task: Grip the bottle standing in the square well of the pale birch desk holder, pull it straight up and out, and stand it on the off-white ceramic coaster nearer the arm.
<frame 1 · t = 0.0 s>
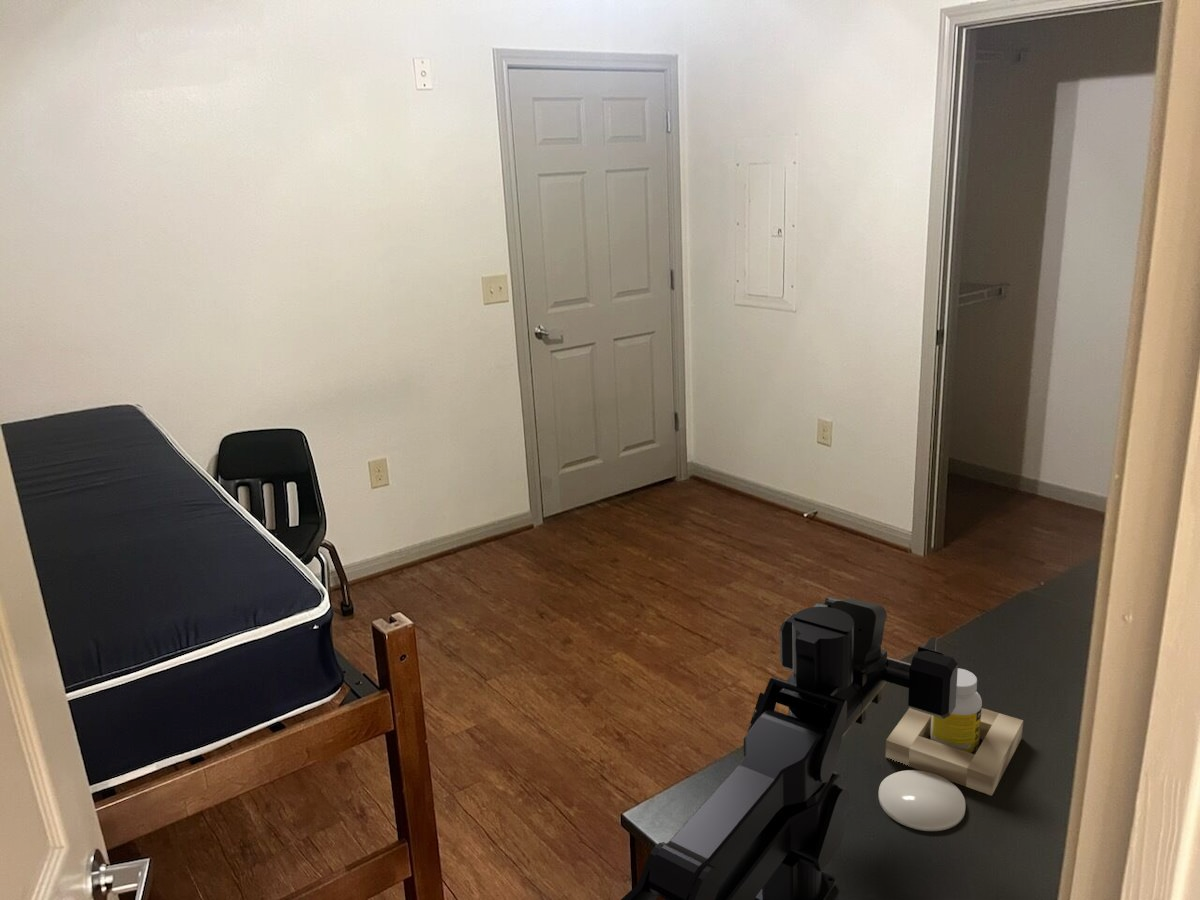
hand: (893, 629, 102), 17 cm above the table, tool horizontal, fingers open, 9 cm apart
ceramic coaster: (921, 801, 99), on the table
supplement bottle: (954, 749, 107), resting in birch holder
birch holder: (954, 747, 107), on the table
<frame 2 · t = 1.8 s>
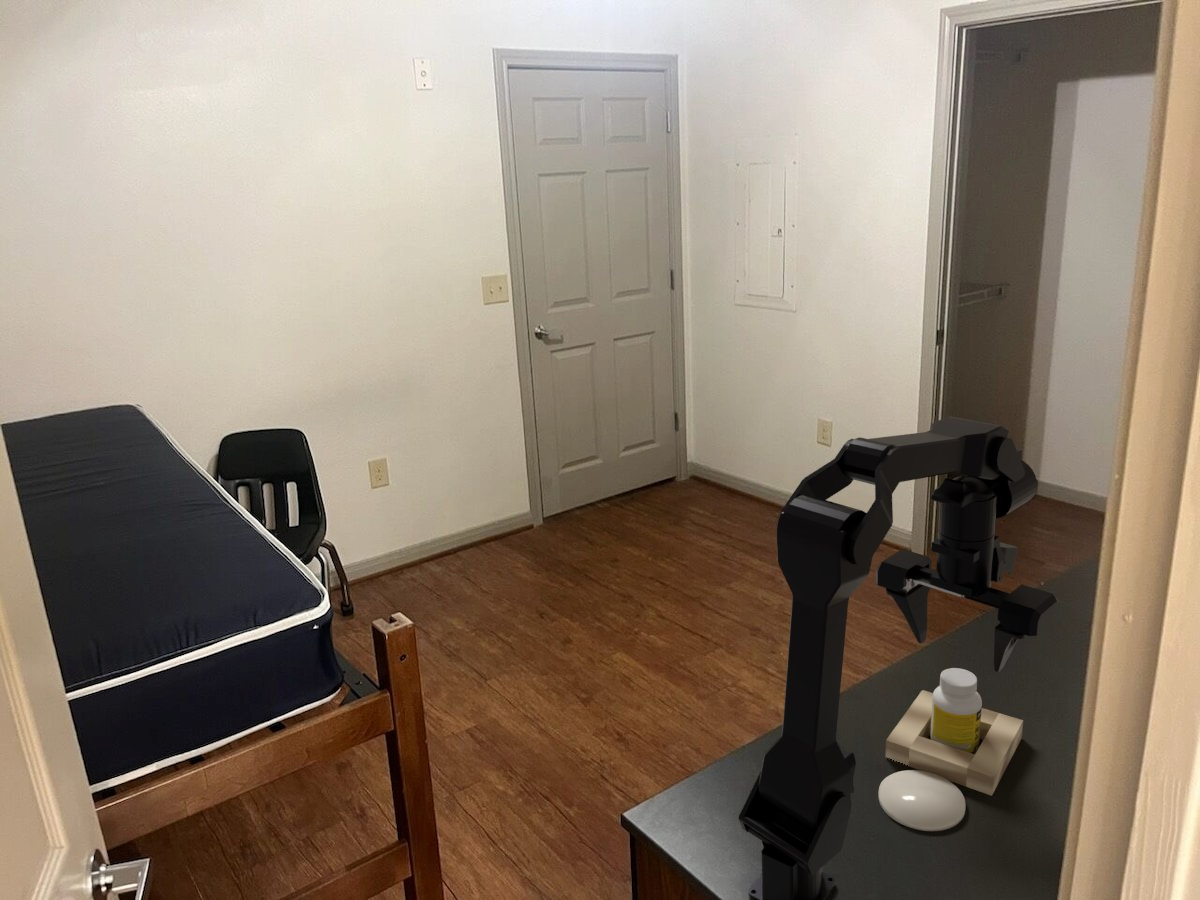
hand: (959, 655, 103), 13 cm above the table, tool pointing down, fingers open, 9 cm apart
nothing on the table moved.
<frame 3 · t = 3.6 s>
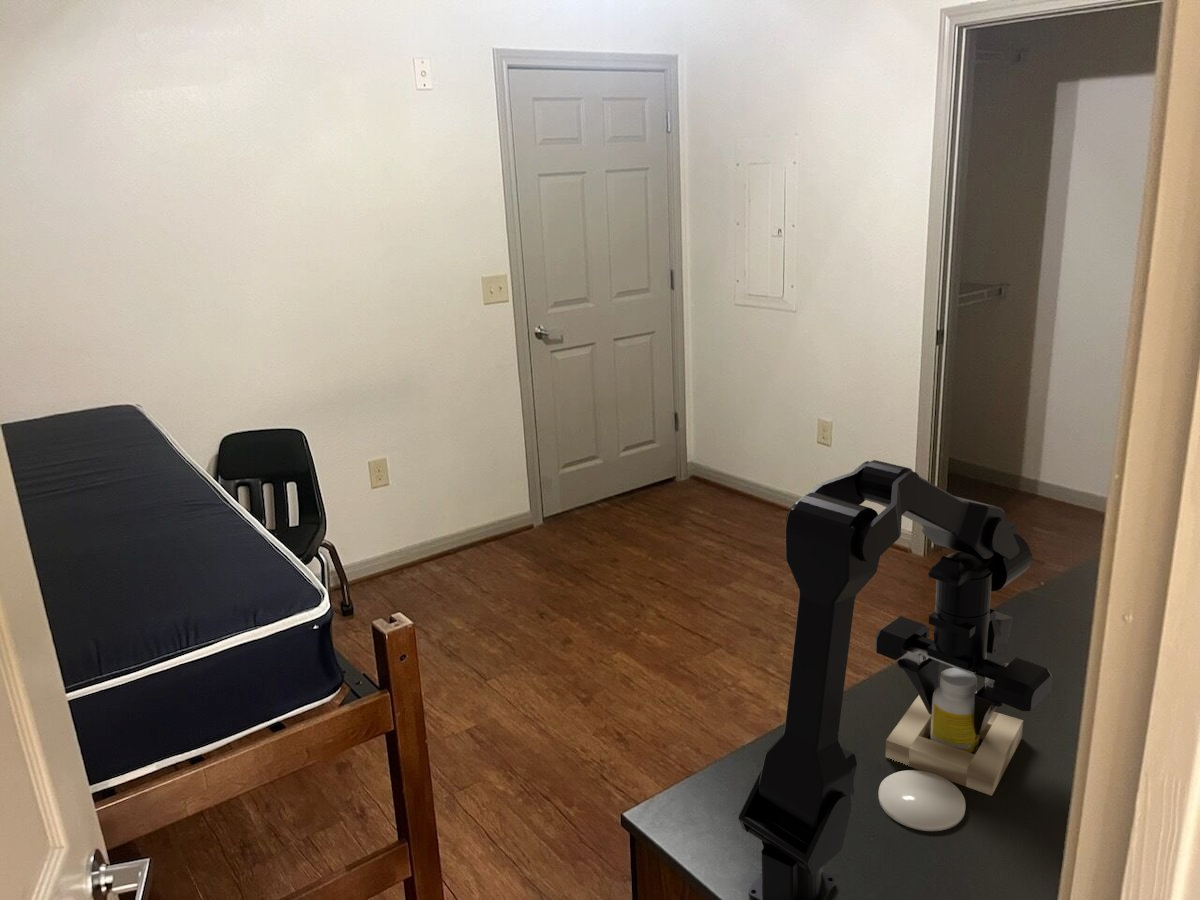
hand: (955, 722, 106), 4 cm above the table, tool pointing down, fingers closed on supplement bottle, 5 cm apart
supplement bottle: (954, 749, 107), resting in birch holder, touching gripper
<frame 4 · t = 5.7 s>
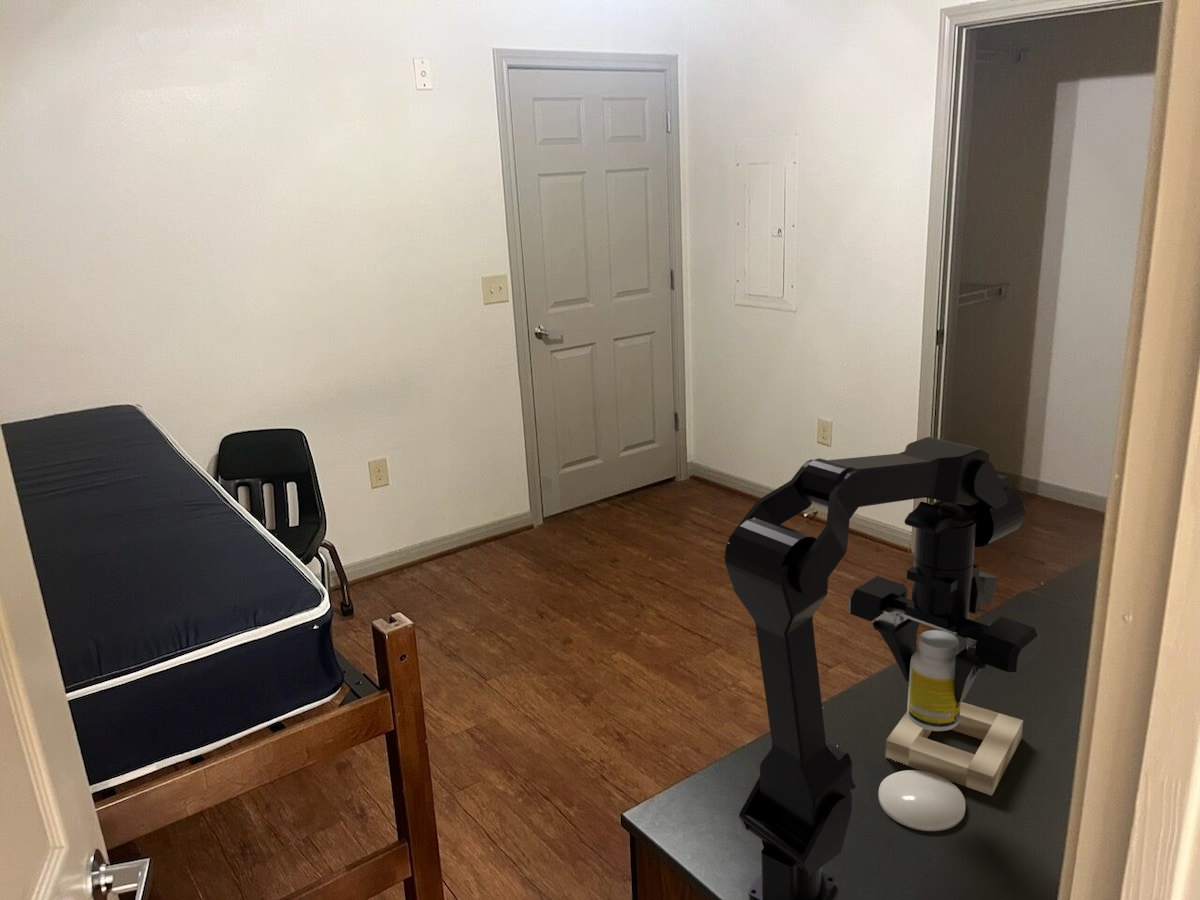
hand: (934, 690, 97), 12 cm above the table, tool pointing down, fingers closed on supplement bottle, 5 cm apart
supplement bottle: (932, 719, 99), point 9 cm above the table, touching gripper
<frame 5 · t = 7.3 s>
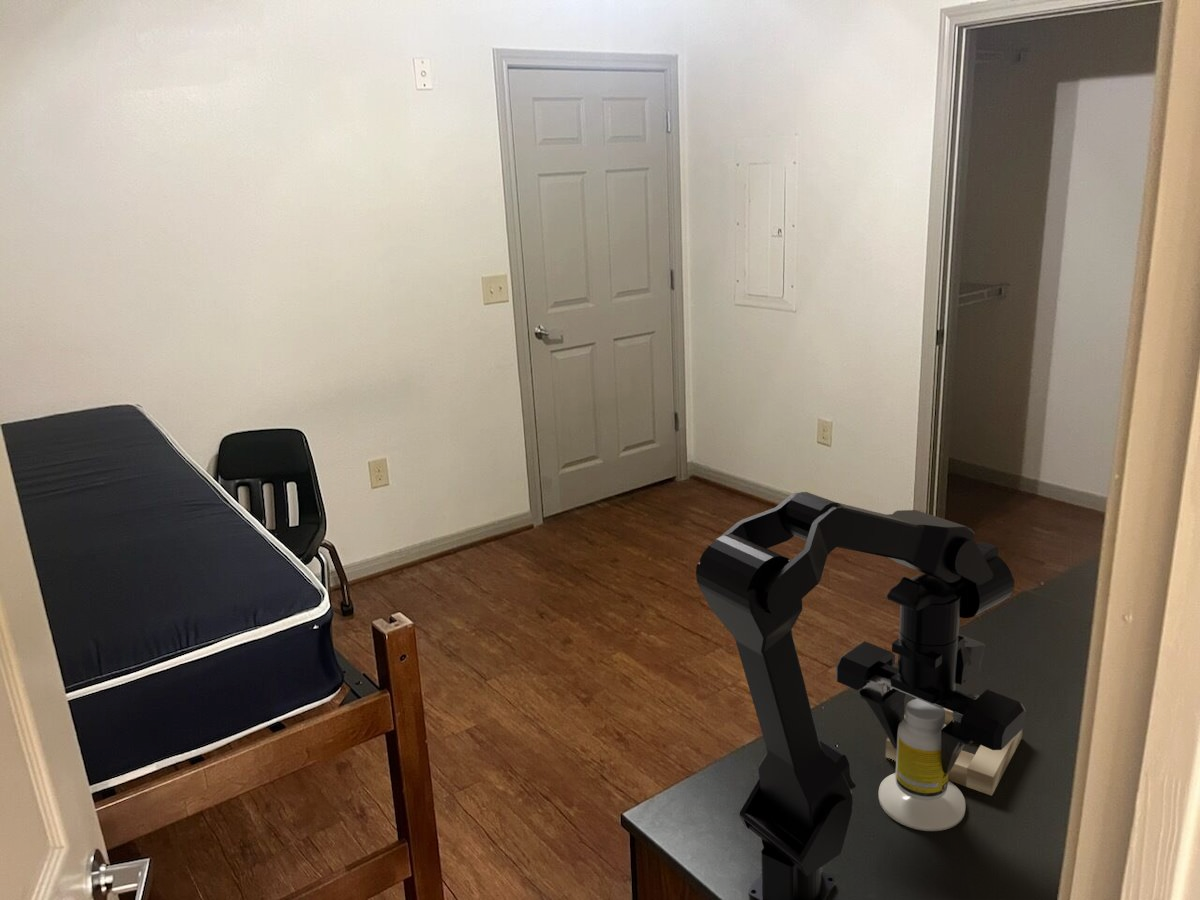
hand: (922, 758, 97), 6 cm above the table, tool pointing down, fingers closed on supplement bottle, 5 cm apart
supplement bottle: (921, 787, 98), point 2 cm above the table, touching gripper
when the fingers open (5 cm above the table, at t = 8.2 s): supplement bottle drops 1 cm, resting on ceramic coaster.
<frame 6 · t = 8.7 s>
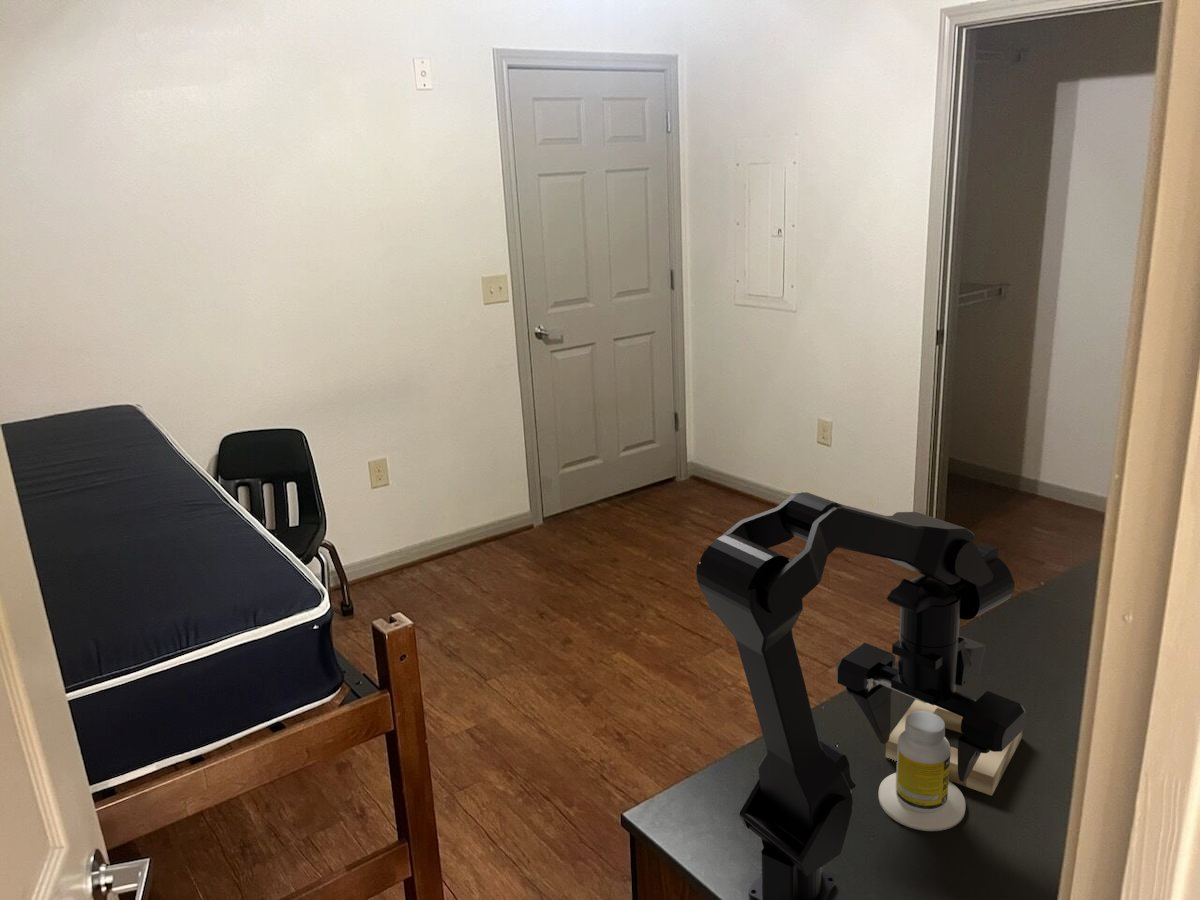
hand: (922, 760, 97), 5 cm above the table, tool pointing down, fingers open, 9 cm apart
supplement bottle: (921, 799, 99), resting on ceramic coaster
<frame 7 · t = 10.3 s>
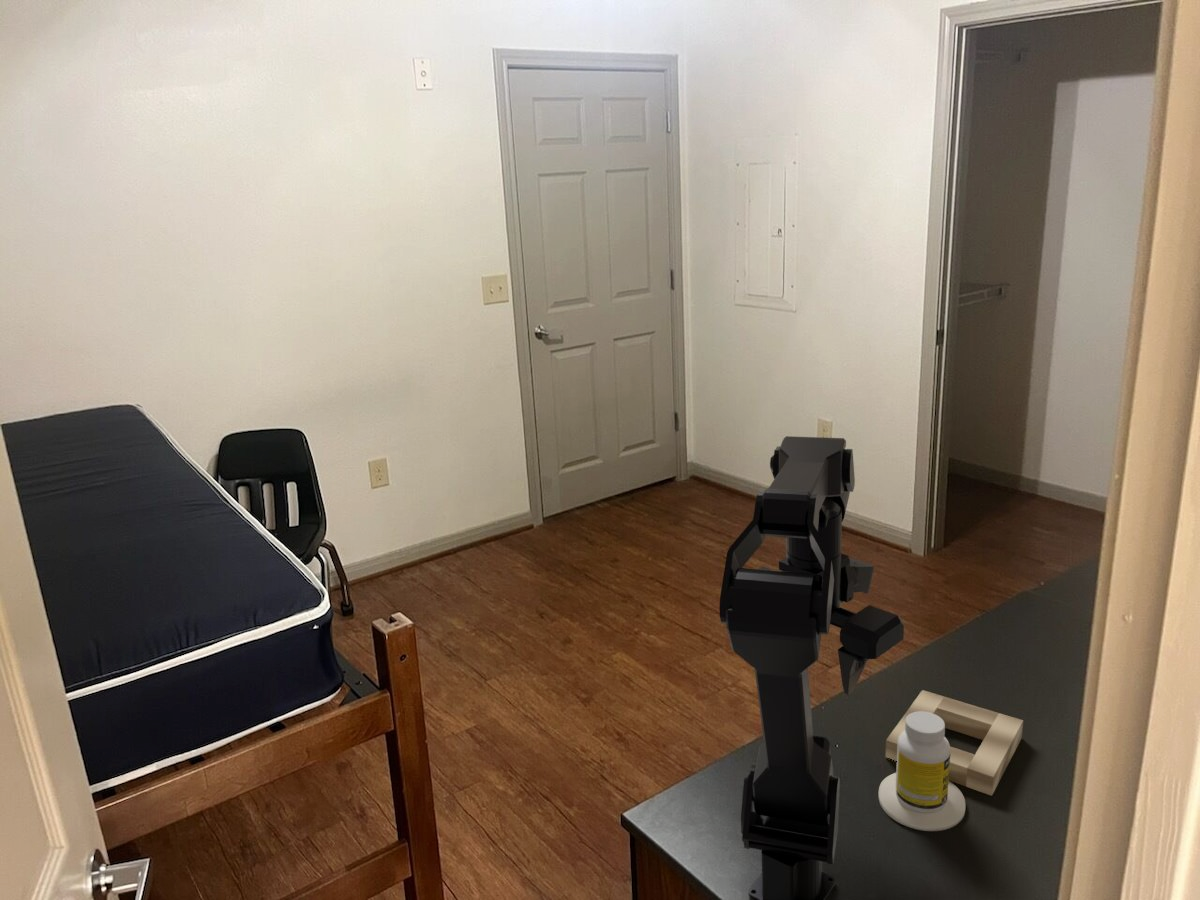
hand: (813, 676, 101), 13 cm above the table, tool pointing down, fingers open, 9 cm apart
nothing on the table moved.
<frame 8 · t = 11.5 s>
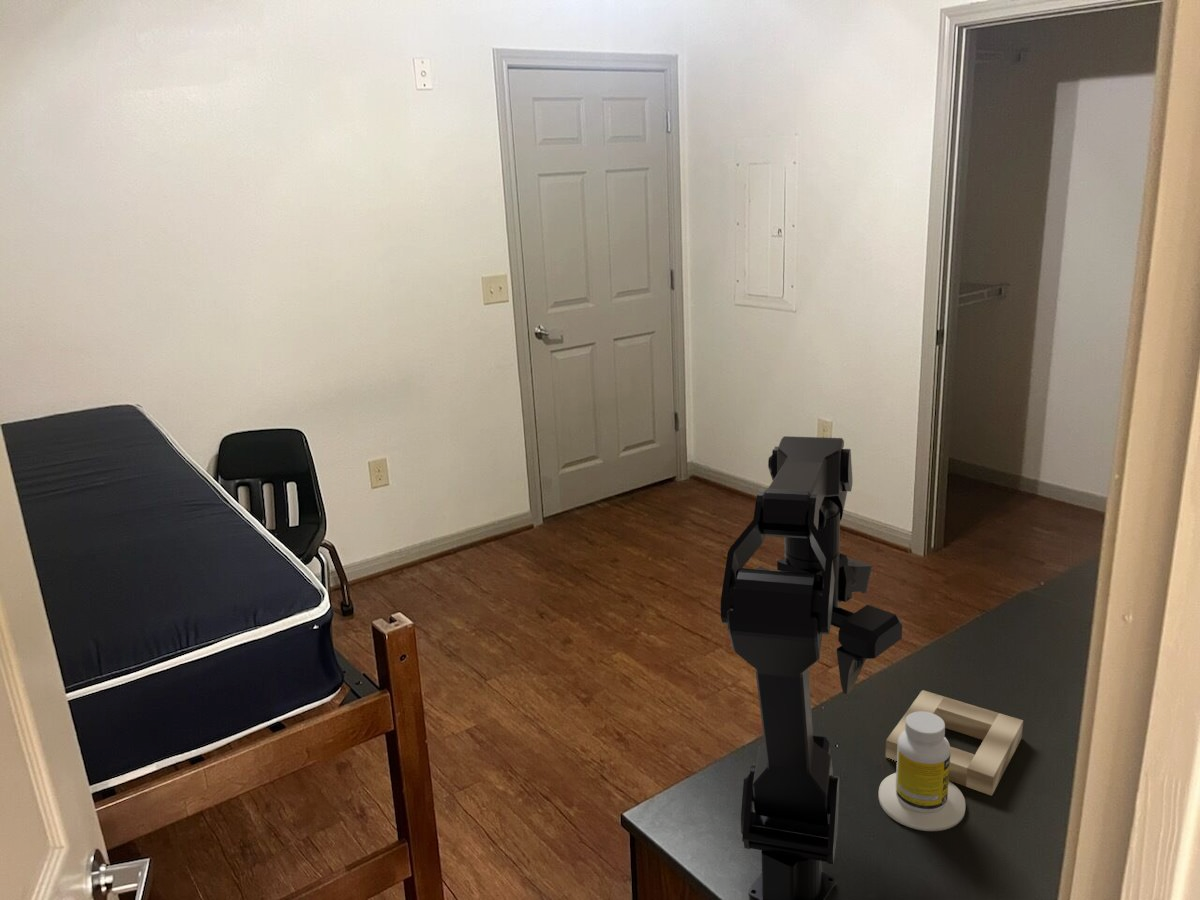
hand: (812, 676, 101), 13 cm above the table, tool pointing down, fingers open, 9 cm apart
nothing on the table moved.
at the end: supplement bottle 0.1 cm off-centre on the ceramic coaster, point 0.4 cm above the ceramic coaster's base; supplement bottle tilted 0°; the gripper is holding nothing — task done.
